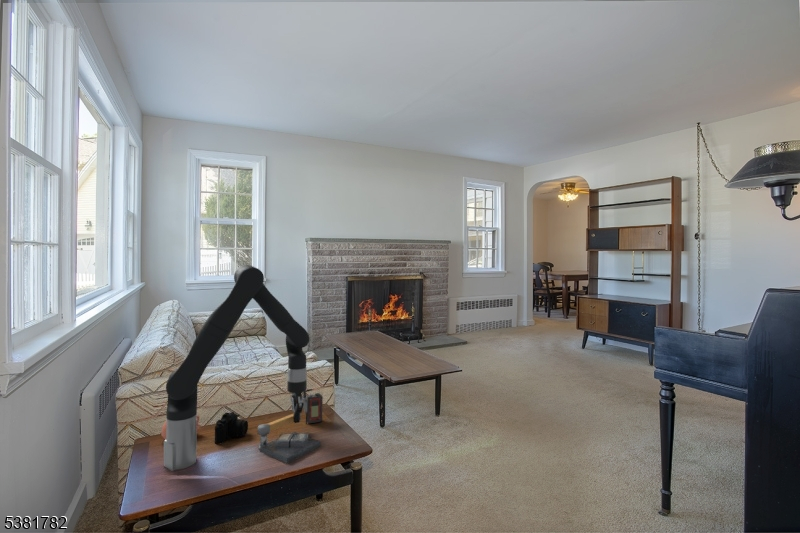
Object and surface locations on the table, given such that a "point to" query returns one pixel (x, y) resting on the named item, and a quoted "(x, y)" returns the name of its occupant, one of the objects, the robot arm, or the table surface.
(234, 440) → the table surface
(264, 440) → the post
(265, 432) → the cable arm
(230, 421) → the film camera
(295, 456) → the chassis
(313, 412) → the walkie-talkie
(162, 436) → the sugar bowl
